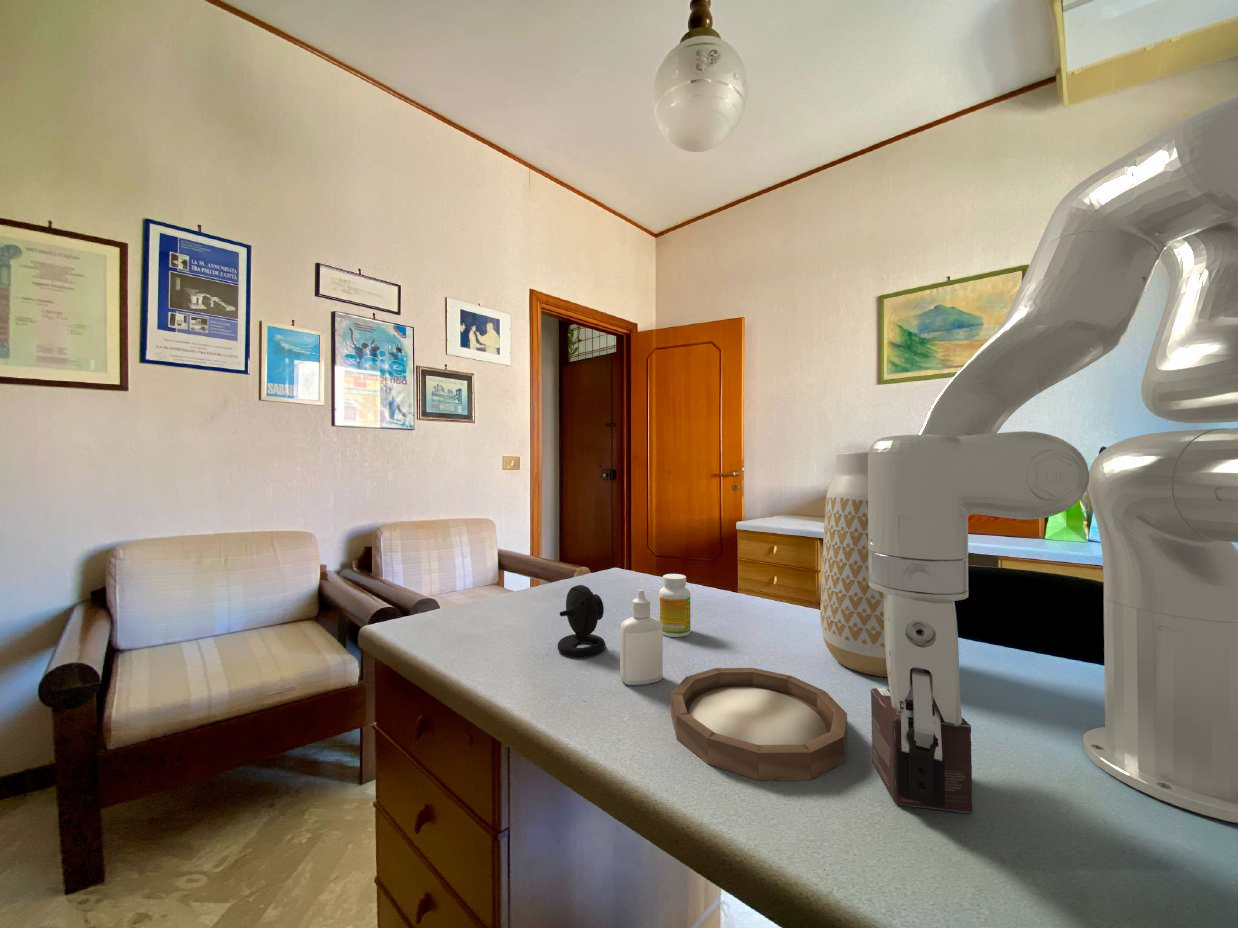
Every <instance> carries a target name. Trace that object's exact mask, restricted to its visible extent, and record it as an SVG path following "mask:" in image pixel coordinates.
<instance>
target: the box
mask: <svg viewBox="0 0 1238 928" xmlns="http://www.w3.org/2000/svg"><path fill="white" fill-rule="evenodd" d="M870 705H871V707H870V710H871V715H870V716H871V752H872V754H871V762H872V765H873V767H874V768H875V770H876V772H877V774H878V775H879V777H880V779H881V781H882V783H883V785H884V786H885V788H886V790H887V792H888V794H889V795H890V797H891V799H892V801H893V802H894V804H895V805H899V806H906V807H912V808H913V807H914V808H923V809H924V808H926V809H932V810H939V811H940V810H941V811H948V812H956V813H962V814H964V813H965V814H972V813H973V812H974V811H973V766H972V737H971V736H972V735H971V734H972V725H971V724H970V723H969V722H968V721H967V720H966V719H964V717H962V722H961V724H960V725H958V726H952V724H951V723H948V722H945V721H944V719H943V717H942V715H941V713H940V719H941V723H940V725H941V743H942V755H943V756H944V759H945V806H944V807H943V808H937V807H934V806H931V805H927V804H924V803H920V802H917V801H914V800H910V799H907V798H903V797H901V796H900V795H899V793H898V744H899V745H901V715H900V714H898V713H897V712H896V711H895V710H894V709H893V708H892V704H891V697H890V690H889V688H880V687H878V688H877V687H876V688H874V687H873V688H870ZM906 709H908V710H913V704H911V703H906ZM932 712H933V708H932ZM910 728H913V720H912V719H908V730H909V729H910Z"/></svg>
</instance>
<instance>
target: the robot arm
mask: <svg viewBox="0 0 1238 928" xmlns="http://www.w3.org/2000/svg"><path fill="white" fill-rule="evenodd" d="M1159 261H1161V262H1162V264H1163V266H1164V267H1165V270H1166V272H1167V276H1168V278H1169V289H1168V294H1167V298H1166V300H1165V301H1166V302H1165V305H1164V309H1163V312H1162V315H1161V318H1160V322H1159V324H1158V327H1157V331H1156V334H1155V337H1154V340H1153V342H1152V346H1151V348H1150V349H1151V350H1150V352H1149V355H1148V359H1147V361H1146V365H1145V369H1144V372H1143V377H1142V381H1141V389H1140V392H1141V393H1140V395H1141V398H1142V402H1143V404H1144V406H1145V408H1147V410H1148V411H1149V412H1150V413H1151V414H1153V415H1154V416H1156V417H1157V418H1158V417H1159V418H1161V419H1164V420H1167V421H1171V422H1177V423H1183V424H1184V423H1185V424H1187V423H1188V424H1215V423H1216V424H1217V423H1221V424H1222V423H1235V422H1238V95H1235V96H1233V97H1230V98H1228V99H1226V100H1224V101H1221V102H1218V103H1216V104H1215V105H1212V106H1211V107H1208V108H1206V109H1203V110H1202V111H1200V112H1198V113H1195V114H1194V115H1192V116H1189V117H1188V118H1186V119H1185V120H1183V121H1181V122H1179V123H1177V124H1175V125H1174V126H1172V127H1170V128H1168V129H1167V130H1164V131H1163V132H1161V133H1160V134H1159V135H1157V136H1155V137H1154V138H1152V139H1150V140H1148V141H1147V142H1145V143H1143V144H1142V145H1139V146H1138V147H1136V148H1135V149H1133V150H1132V151H1131V150H1130V152H1128V153H1125V154H1124V155H1123V156H1121V157H1120V158H1118V159H1116V160H1114V161H1113V162H1111V163H1109V164H1107V165H1106V166H1104V167H1103V168H1101V169H1099V170H1097V171H1096V172H1094V173H1093V174H1091V175H1089V176H1088V177H1087V178H1085V179H1084V180H1082V181H1081V182H1079V183H1078V184H1077V185H1075V186H1074V187H1072V189H1071V190H1070V191H1068V192H1067V193H1066V195H1065V196H1064V197H1063V198H1062V199H1061V200H1060V202H1058V204H1057V206H1056V207H1055V209H1054V210H1053V212H1052V214H1051V216H1050V218H1049V221H1048V222H1047V225H1046V227H1045V228H1044V232H1043V234H1042V236H1041V239H1040V241H1039V243H1038V245H1037V247H1036V249H1035V252H1034V254H1033V256H1032V258H1031V261H1030V263H1029V265H1028V268H1027V270H1026V272H1025V274H1024V277H1023V279H1022V281H1021V283H1020V286H1019V287H1018V290H1017V293H1016V294H1015V297H1014V299H1013V301H1012V304H1011V306H1010V309H1009V310H1008V313H1007V314H1006V317H1005V319H1004V320H1003V322H1002V323H1001V325H1000V326H999V328H998V329H997V330H996V331H995V332H994V333H993V334H992V335H991V336H990V337H989V338H988V339H987V340H986V341H985V342H984V343H983V344H982V345H981V346H980V347H979V348H978V349H977V350H976V352H975V353H974V354H973V355H972V356H971V357H970V358H969V359H968V360H967V362H966V363H965V364H964V365H963V366H962V367H961V368H960V370H959V371H957V372H956V373H955V374H954V376H953V377H952V378H951V379H950V380H949V381H948V383H947V384H946V385H945V386H944V387H943V389H942V390H941V391H940V393H939V394H938V396H937V397H936V399H935V400H934V401H933V404H932V405H931V407H930V408H929V411H928V412H927V414H926V417H925V419H924V420H923V423H922V426H921V427H920V430H919V432H918V434H902V435H891V436H890V435H889V436H885V437H881V438H878V439H875V440H874V441H873V442H872V444H871V445H870V447H869V449H868V451H867V452H868V548H869V550H868V568H869V586H870V587H872V588H873V589H875V590H877V591H880V592H883V594H884V639H885V655H886V666H887V675H888V677H887V682H888V689H889V690H890V697H891V704H892V708H893V709H894V710H895V711H896V712H897V713H898V714H900V715H901V745H899V744H898V793H899V795H900V796H901V797H903V798H907V799H910V800H914V801H917V802H920V803H924V804H927V805H931V806H934V807H937V808H943V807H944V806H945V759H944V756H943V755H942V743H941V725H940V723H941V719H940V713H941V715H942V717H943V719H944V721H945V722H948V723H951V724H952V726H958V725H960V724H961V722H962V718H963V717H962V703H961V683H960V682H961V680H960V678H961V677H960V656H959V655H960V653H959V651H960V650H959V649H960V648H959V633H958V620H957V611H956V610H957V609H956V605H955V604H956V603H955V601H961V600H966V599H967V598H969V516H972V515H984V516H989V517H998V518H1005V519H1006V518H1007V519H1015V520H1040V519H1044V518H1045V519H1046V518H1049V517H1054V516H1056V515H1059V514H1061V513H1063V512H1066V511H1068V510H1069V509H1070V508H1072V507H1074V506H1075V505H1076V504H1077V503H1078V502H1079V501H1080V500H1081V499H1082V498H1083V496H1084V495H1085V493H1086V491H1087V493H1088V497H1089V502H1090V505H1091V508H1092V512H1093V516H1094V519H1095V522H1096V525H1097V529H1098V534H1099V539H1100V540H1099V541H1100V545H1101V553H1102V554H1101V555H1102V567H1103V570H1102V572H1103V574H1102V575H1103V638H1104V639H1103V641H1104V643H1103V646H1104V647H1103V652H1104V659H1103V661H1104V663H1103V665H1104V725H1105V726H1104V727H1103V726H1102V727H1095V728H1093V729H1089V730H1087V731H1086V732H1085V733H1084V734H1083V738H1082V741H1083V742H1082V744H1083V745H1082V746H1083V750H1084V752H1085V754H1086V755H1087V757H1088V758H1089V759H1090V760H1091V761H1092V762H1093V763H1094V764H1095V765H1096V766H1098V767H1099V768H1101V769H1102V770H1103V771H1105V772H1106V773H1107V774H1109V775H1111V776H1112V777H1114V779H1115V778H1116V779H1117V780H1119V781H1121V782H1122V783H1125V784H1126V785H1128V786H1130V787H1132V788H1133V789H1136V790H1138V791H1141V792H1142V793H1144V794H1146V795H1148V796H1151V797H1153V798H1156V799H1158V800H1161V801H1162V802H1166V803H1168V804H1170V805H1173V806H1176V807H1178V808H1181V809H1184V810H1187V811H1191V812H1194V813H1196V814H1200V815H1202V816H1205V817H1206V816H1207V817H1209V818H1213V819H1217V820H1219V821H1220V820H1222V821H1225V822H1231V823H1234V824H1238V548H1236V546H1235V545H1234V544H1233V543H1238V427H1230V428H1228V427H1227V428H1226V427H1225V428H1224V427H1222V428H1221V427H1220V428H1207V429H1205V428H1204V429H1194V430H1192V429H1189V430H1177V431H1175V430H1173V431H1162V432H1154V433H1153V432H1152V433H1147V434H1140V435H1137V436H1132V437H1128V438H1126V439H1125V438H1124V439H1123V440H1119V441H1117V442H1115V443H1113V444H1111V445H1109V446H1108V447H1106V448H1105V449H1103V450H1102V451H1101V452H1100V453H1099V454H1097V456H1096V457H1095V459H1094V460H1093V462H1092V463H1091V465H1090V466H1088V463H1087V460H1086V459H1085V457H1084V456H1083V454H1082V453H1081V452H1080V451H1079V450H1078V449H1077V448H1076V447H1075V446H1074V445H1072V444H1071V443H1070V442H1068V441H1066V440H1064V439H1063V438H1061V437H1058V436H1055V435H1053V434H1048V433H1043V432H1038V431H1026V430H1025V431H1008V432H999V431H1000V429H1001V428H1002V426H1003V425H1004V424H1005V423H1006V422H1007V420H1009V418H1010V417H1011V416H1012V415H1014V413H1015V412H1016V411H1017V410H1018V409H1020V408H1021V407H1022V406H1023V405H1024V404H1027V402H1029V401H1030V400H1031V399H1033V398H1034V397H1035V396H1037V395H1039V394H1040V393H1042V392H1044V391H1046V390H1048V388H1051V387H1053V386H1055V385H1057V384H1058V383H1061V382H1062V381H1064V380H1066V379H1067V378H1070V377H1071V376H1073V375H1075V374H1077V373H1079V372H1080V371H1082V370H1084V369H1085V368H1088V367H1089V366H1091V365H1092V364H1093V363H1095V362H1096V361H1098V360H1100V359H1101V358H1103V357H1105V355H1107V354H1109V353H1110V352H1112V351H1113V350H1114V349H1116V347H1118V346H1119V344H1122V341H1124V339H1125V338H1126V337H1127V335H1128V332H1129V330H1130V327H1131V325H1132V322H1133V320H1134V317H1135V315H1136V313H1137V311H1138V308H1139V306H1140V303H1141V301H1142V298H1143V297H1144V294H1145V291H1146V290H1147V288H1148V285H1149V283H1150V281H1151V278H1152V276H1153V273H1154V271H1155V269H1156V267H1157V265H1158V263H1159ZM1089 467H1090V468H1089ZM906 703H911V704H913V710H908V709H906ZM932 708H933V712H932ZM908 719H912V720H913V728H910V729H909V730H908Z"/></svg>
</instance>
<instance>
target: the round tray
mask: <svg viewBox="0 0 1238 928" xmlns="http://www.w3.org/2000/svg"><path fill="white" fill-rule="evenodd" d="M670 716H671V717H670V718H671V721H672V724H673V729H674V733H675V738H676V740H677V741H679V742H680V743H681V744H682V745H683V746H685V747H686V748H687V749H688V750H690V751H691V752H692V753H693V754H695V755H696V756H697V757H698V758H700V760H702V761H704V762H705V763H706V764H707V765H709V766H711V767H716V768H719V769H723V770H724V771H729V772H731V773H735V774H738V775H741V776H744V777H747V778H749V779H754V780H756V781H813V780H814V779H816V778H818V777H820V776H822V775H824V774H826V773H827V772H829V771H831V770H832V769H835V768H836V767H838V766H841V765H842V764H844V763H845V760H846V759H845V757H846V749H847V742H848V713H847V712H846V711H845V710H844V709H843V707H841V705H839V703H838V702H837V701H836V700H835V699H834V698H833V697H832V696H831V695H830V694H829V693H828V692H827V691H826V690H823V689H822V688H819V687H817V686H814V685H813V684H811V683H808V682H806V681H804V680H803V679H802V680H801V679H800V678H797V677H796V676H794V675H793V676H792V675H789V674H784V673H781V672H775V671H769V670H765V669H760V668H755V667H714V668H712V669H708V670H705V671H701V672H697V673H695V674H691V675H688V676H686V677H684V678H683V679H682V680H681V682H679V683H678V685H677V686H676V687H675V688H674V689H673V690H672V691H671V693H670Z"/></svg>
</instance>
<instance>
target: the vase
mask: <svg viewBox="0 0 1238 928" xmlns="http://www.w3.org/2000/svg"><path fill="white" fill-rule="evenodd" d="M868 452H869V451H846V452H845V451H842V452H837V453H836V454H835V455H836V456H835V458H836V459H835V461H836V462H835V463H836V464H835V467H836V468H835V476H834V478H833V479H832V482H831V484H830V486H829V487H828V490H827V493H826V496H825V505H824V506H825V509H824V521H823V522H824V523H823V541H822V542H823V543H822V544H823V545H822V546H823V547H822V563H821V565H822V566H821V581H820V582H821V583H820V587H821V588H820V603H819V605H820V607H819V608H820V613H819V614H820V616H819V617H820V626H821V634H822V638H823V641H824V644H825V646H826V648H827V650H828V652H829V653H830V654H831V656H832V657H833V658H834V660H836V662H838V663H839V664H840V665H842V666H844V667H845V668H848V669H850V670H852V671H855V672H857V673H861V674H864V675H869V676H873V677H874V676H875V677H883V678H888V675H887V666H886V655H885V639H884V594H883V592H880V591H877V590H875V589H873V588H872V587H870V586H869V568H868V550H869V548H868Z"/></svg>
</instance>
